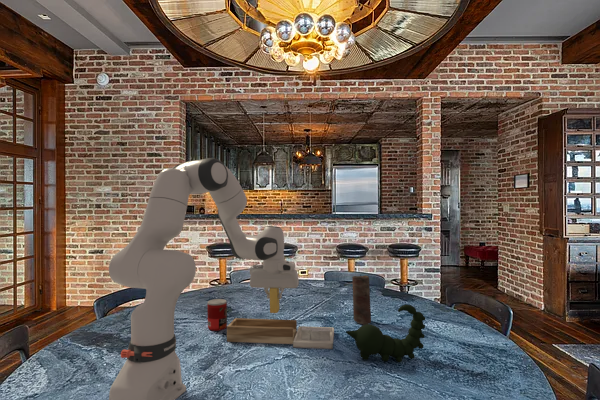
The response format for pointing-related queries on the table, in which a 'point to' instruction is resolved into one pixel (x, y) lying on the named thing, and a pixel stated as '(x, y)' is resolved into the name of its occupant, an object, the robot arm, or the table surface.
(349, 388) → the table surface
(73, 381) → the table surface
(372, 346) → the toy figurine
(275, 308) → the block
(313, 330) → the grey piece
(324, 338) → the grey and brown cube
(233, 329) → the open wooden box
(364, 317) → the brown tall block
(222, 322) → the canned food
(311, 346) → the tray
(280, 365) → the table surface
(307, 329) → the grey cubic block
